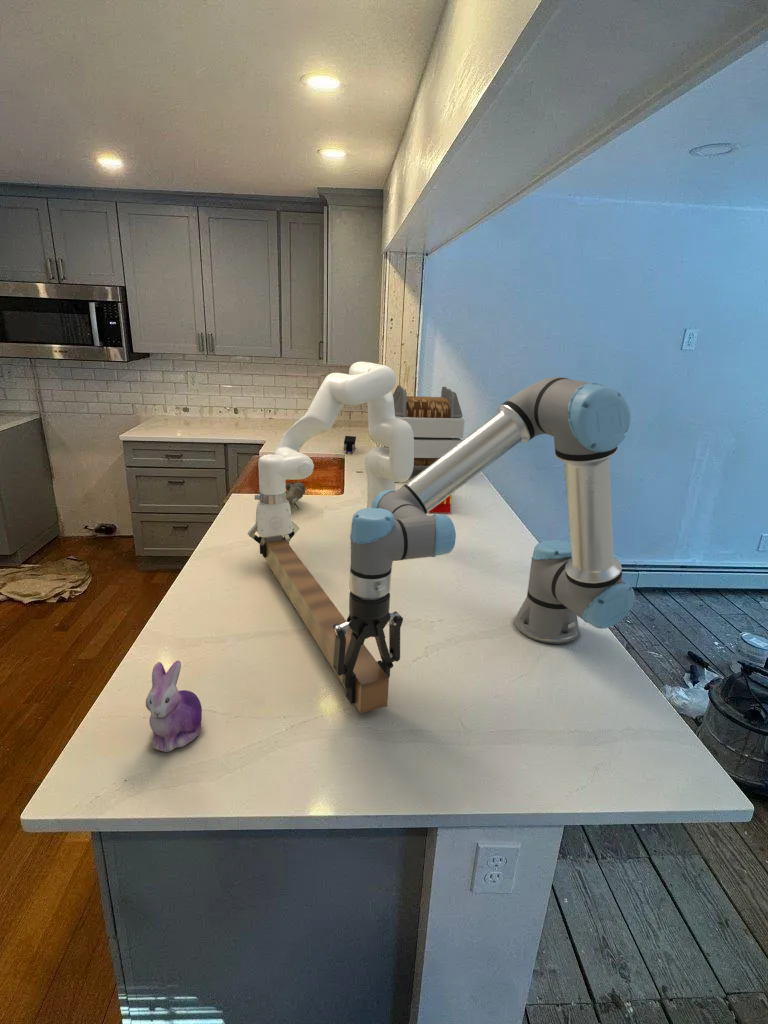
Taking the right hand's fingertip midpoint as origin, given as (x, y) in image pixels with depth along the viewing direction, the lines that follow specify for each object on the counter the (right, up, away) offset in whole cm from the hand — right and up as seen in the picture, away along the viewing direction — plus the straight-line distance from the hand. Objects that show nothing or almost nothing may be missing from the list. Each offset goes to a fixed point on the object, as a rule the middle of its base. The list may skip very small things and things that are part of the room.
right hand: (365, 695), depth 112 cm
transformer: (+21, +55, +163) cm, 173 cm away
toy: (+25, +40, +123) cm, 131 cm away
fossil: (-33, +38, +108) cm, 119 cm away
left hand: (-29, +24, +58) cm, 70 cm away
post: (-15, +11, +30) cm, 35 cm away
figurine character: (-15, +69, +197) cm, 209 cm away
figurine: (-34, -4, -9) cm, 35 cm away
